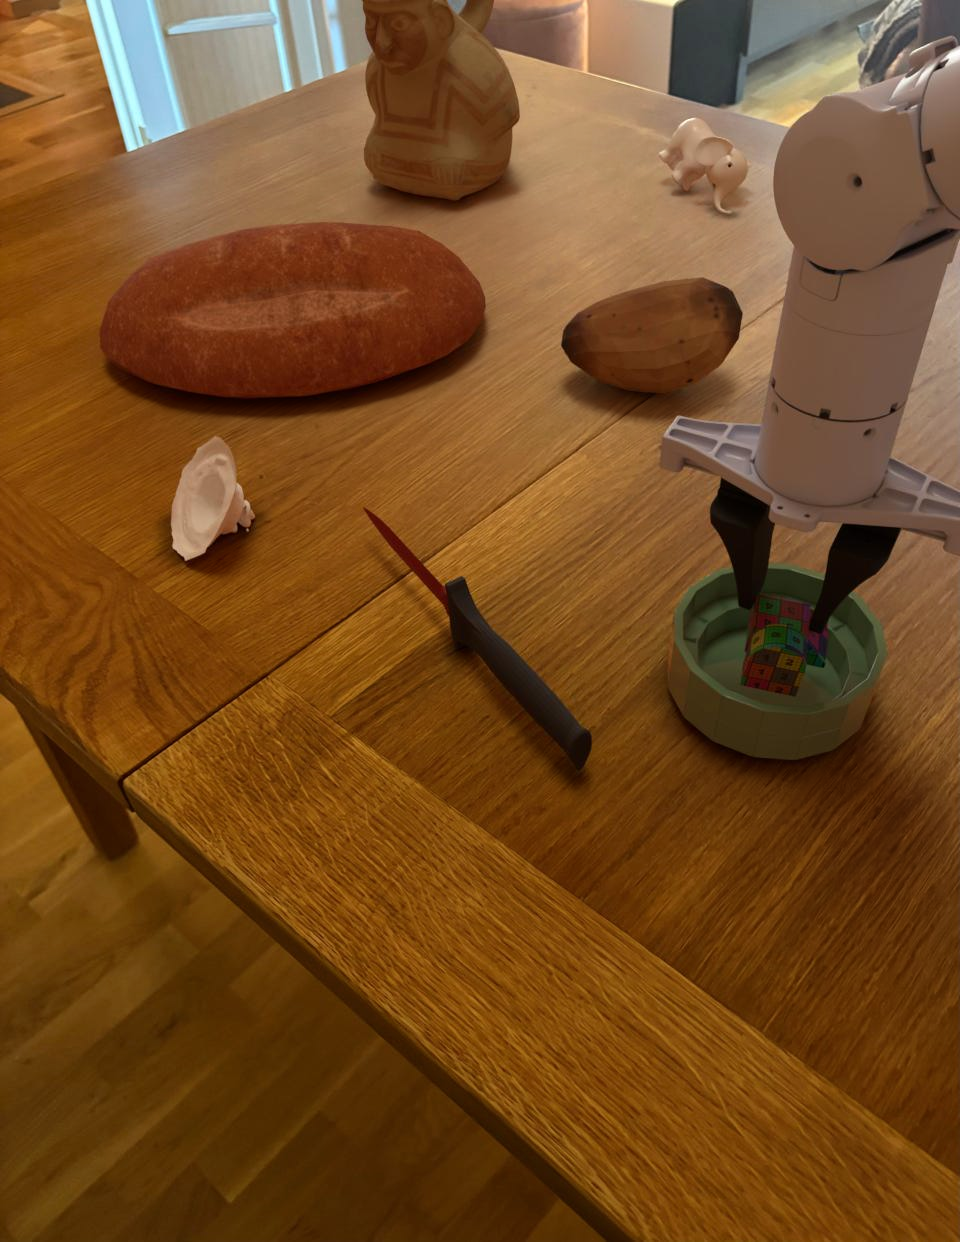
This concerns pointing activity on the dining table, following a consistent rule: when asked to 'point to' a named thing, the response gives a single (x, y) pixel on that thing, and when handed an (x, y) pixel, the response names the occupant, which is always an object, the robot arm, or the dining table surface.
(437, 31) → the ceramic vessel
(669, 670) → the bowl
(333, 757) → the dining table surface
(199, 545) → the seashell
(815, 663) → the block
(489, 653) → the knife
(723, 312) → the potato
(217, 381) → the bread
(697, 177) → the elephant figurine
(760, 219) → the dining table surface
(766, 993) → the dining table surface
